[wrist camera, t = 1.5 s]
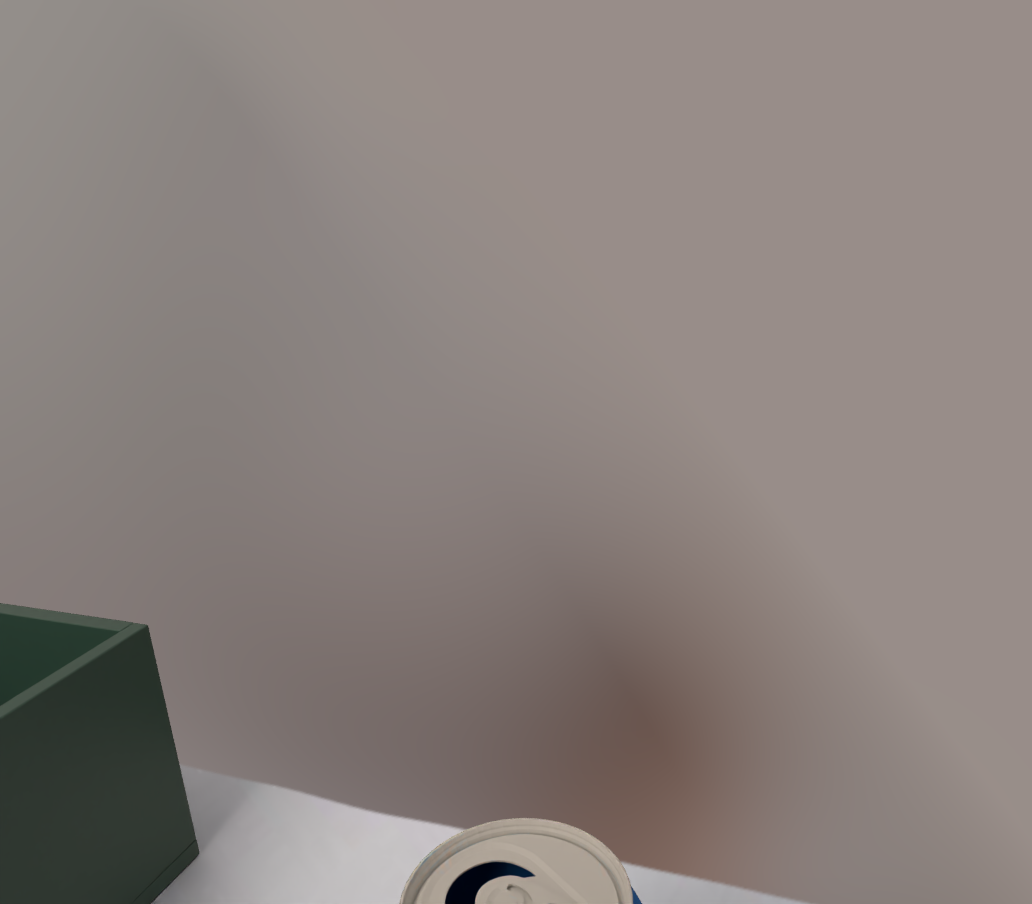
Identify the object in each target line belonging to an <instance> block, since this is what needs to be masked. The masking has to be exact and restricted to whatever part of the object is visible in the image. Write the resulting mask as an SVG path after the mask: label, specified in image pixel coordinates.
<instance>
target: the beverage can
mask: <svg viewBox="0 0 1032 904" xmlns="http://www.w3.org/2000/svg"><path fill="white" fill-rule="evenodd" d="M399 904H642V903H641V901H640V900H639V898H638V896H637V895H636V893H635V891H634V890H633V888H632V887H631V885H630V881H629V878H628V876H627V873H626V871H625V869H624V867H623V866H622V864H621V862H620V861H619V859H618V858H617V857H616V856H615V855H614V853H613V852H612V851H611V850H610V849H609V848H608V847H607V846H605V845H604V844H603V843H602V842H601V841H599V840H598V839H596V838H595V837H593V836H592V835H590V834H588V833H586V832H584V831H582V830H580V829H578V828H575V827H573V826H570V825H567V824H564V823H560V822H556V821H551V820H545V819H534V818H514V819H505V820H498V821H493V822H488V823H485V824H481V825H478V826H475V827H473V828H470V829H467V830H465V831H463V832H461V833H459V834H457V835H455V836H453V837H451V838H449V839H448V840H446V841H445V842H443V843H442V844H440V845H439V846H437V847H436V848H435V849H434V850H432V851H431V852H430V853H429V854H428V855H427V856H426V857H425V858H424V859H423V860H422V861H421V862H420V863H419V865H418V866H417V867H416V868H415V870H414V871H413V872H412V874H411V876H410V877H409V879H408V881H407V883H406V885H405V887H404V890H403V892H402V895H401V899H400V903H399Z"/></svg>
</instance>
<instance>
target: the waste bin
mask: <svg viewBox="0 0 1032 904" xmlns="http://www.w3.org/2000/svg"><path fill="white" fill-rule="evenodd" d="M198 854H199V849H198V845H197V840H196V836H195V832H194V827H193V823H192V819H191V814H190V810H189V805H188V801H187V796H186V792H185V788H184V783H183V779H182V774H181V770H180V765H179V761H178V757H177V752H176V748H175V743H174V739H173V735H172V730H171V726H170V722H169V717H168V713H167V708H166V703H165V699H164V695H163V690H162V686H161V682H160V677H159V673H158V668H157V664H156V659H155V655H154V650H153V646H152V642H151V637H150V633H149V628H148V625H145V624H138V623H133V622H126V621H119V620H112V619H106V618H99V617H92V616H84V615H78V614H71V613H64V612H57V611H50V610H44V609H36V608H30V607H23V606H16V605H9V604H2V603H0V904H150V903H151V902H152V901H153V900H154V899H155V898H156V897H157V896H158V895H159V894H160V893H161V892H162V891H163V890H164V889H165V888H166V887H167V886H168V885H169V884H170V883H171V882H172V881H173V880H174V879H175V878H176V877H177V876H178V875H179V873H180V872H181V871H182V870H183V869H184V868H185V867H186V866H187V865H188V864H189V863H190V862H191V861H192V860H193V859H194V858H195V857H196V856H197V855H198Z"/></svg>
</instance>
